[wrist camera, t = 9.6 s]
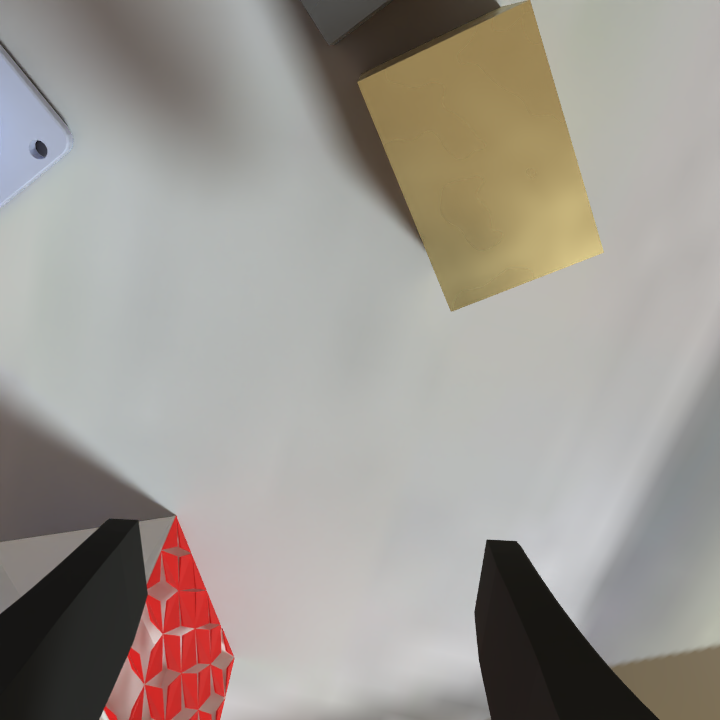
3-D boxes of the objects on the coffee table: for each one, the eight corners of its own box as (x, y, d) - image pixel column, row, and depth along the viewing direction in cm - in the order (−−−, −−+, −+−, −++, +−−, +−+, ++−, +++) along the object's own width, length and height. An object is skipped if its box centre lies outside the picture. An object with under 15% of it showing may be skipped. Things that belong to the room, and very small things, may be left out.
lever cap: (439, 264, 21) (451, 311, 17) (361, 73, 18) (356, 82, 15) (563, 213, 20) (603, 252, 16) (499, 7, 18) (530, -1, 14)
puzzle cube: (64, 678, 30) (-36, 881, 22) (-14, 542, 26) (-160, 730, 19) (236, 656, 29) (189, 861, 22) (178, 513, 25) (100, 699, 18)
